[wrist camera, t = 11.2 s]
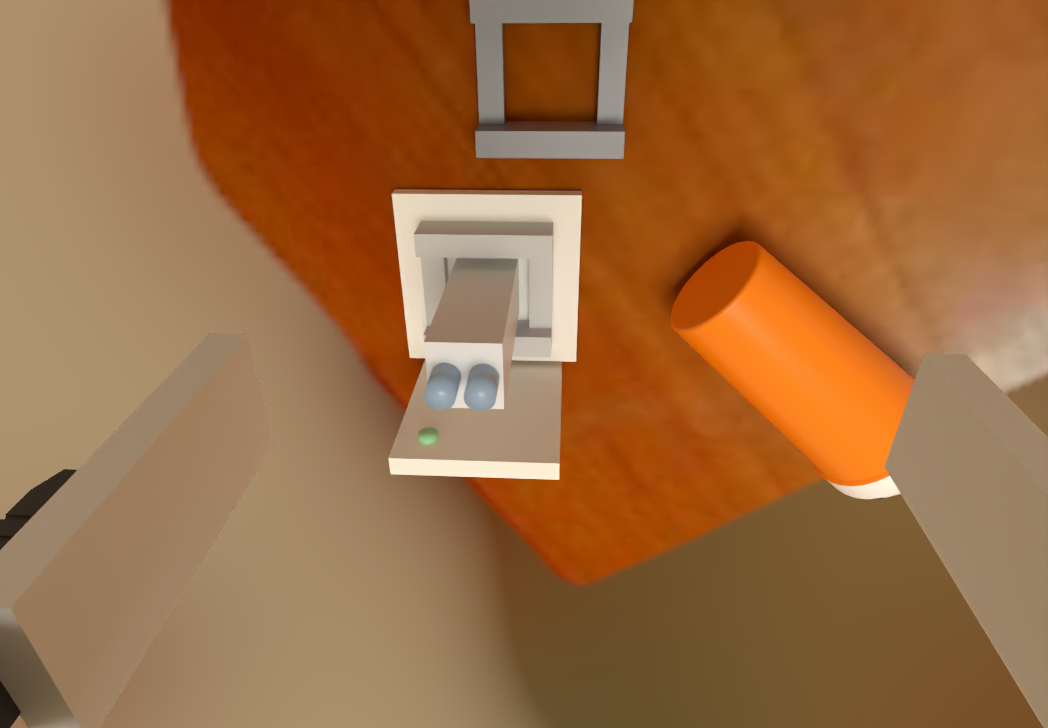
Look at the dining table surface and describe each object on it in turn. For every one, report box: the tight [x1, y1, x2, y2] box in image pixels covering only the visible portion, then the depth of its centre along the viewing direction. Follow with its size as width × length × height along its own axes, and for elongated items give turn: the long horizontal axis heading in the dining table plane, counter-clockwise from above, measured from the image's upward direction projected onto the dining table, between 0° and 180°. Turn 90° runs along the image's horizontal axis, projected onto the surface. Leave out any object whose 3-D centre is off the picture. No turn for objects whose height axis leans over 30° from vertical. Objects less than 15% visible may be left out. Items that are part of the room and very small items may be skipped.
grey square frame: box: [469, 0, 634, 159], centre depth 38 cm, size 8×8×3 cm
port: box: [388, 189, 582, 480], centre depth 42 cm, size 14×12×12 cm
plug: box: [424, 258, 519, 412], centre depth 39 cm, size 4×4×14 cm
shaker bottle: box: [670, 241, 915, 499], centre depth 44 cm, size 9×9×20 cm
